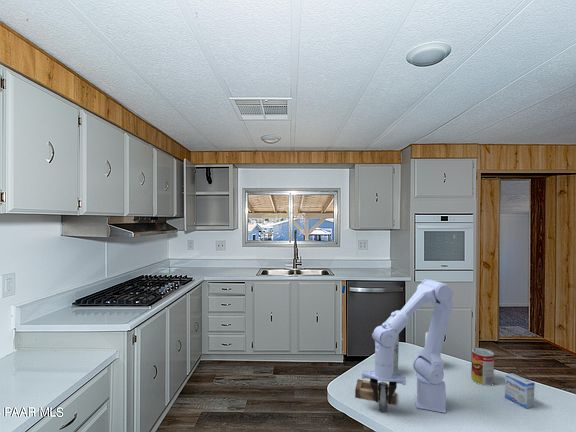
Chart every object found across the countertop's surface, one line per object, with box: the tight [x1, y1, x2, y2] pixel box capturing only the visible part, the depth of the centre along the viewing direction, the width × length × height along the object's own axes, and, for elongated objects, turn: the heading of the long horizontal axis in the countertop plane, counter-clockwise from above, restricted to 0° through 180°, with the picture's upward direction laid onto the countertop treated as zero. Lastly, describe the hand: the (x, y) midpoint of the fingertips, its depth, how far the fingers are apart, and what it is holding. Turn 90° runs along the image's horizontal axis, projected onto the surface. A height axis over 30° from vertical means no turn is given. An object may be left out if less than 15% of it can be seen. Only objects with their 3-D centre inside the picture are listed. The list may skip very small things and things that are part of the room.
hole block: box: [354, 379, 396, 405], centre depth 124 cm, size 14×8×3 cm, turn 72°
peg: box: [377, 381, 389, 414], centre depth 114 cm, size 3×3×9 cm
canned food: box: [470, 347, 495, 386], centre depth 136 cm, size 8×8×12 cm
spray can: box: [392, 333, 400, 376], centre depth 140 cm, size 6×6×20 cm
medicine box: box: [504, 372, 536, 409], centre depth 121 cm, size 8×4×9 cm, turn 23°
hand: (383, 401), depth 114 cm, fingers open, 3 cm apart
